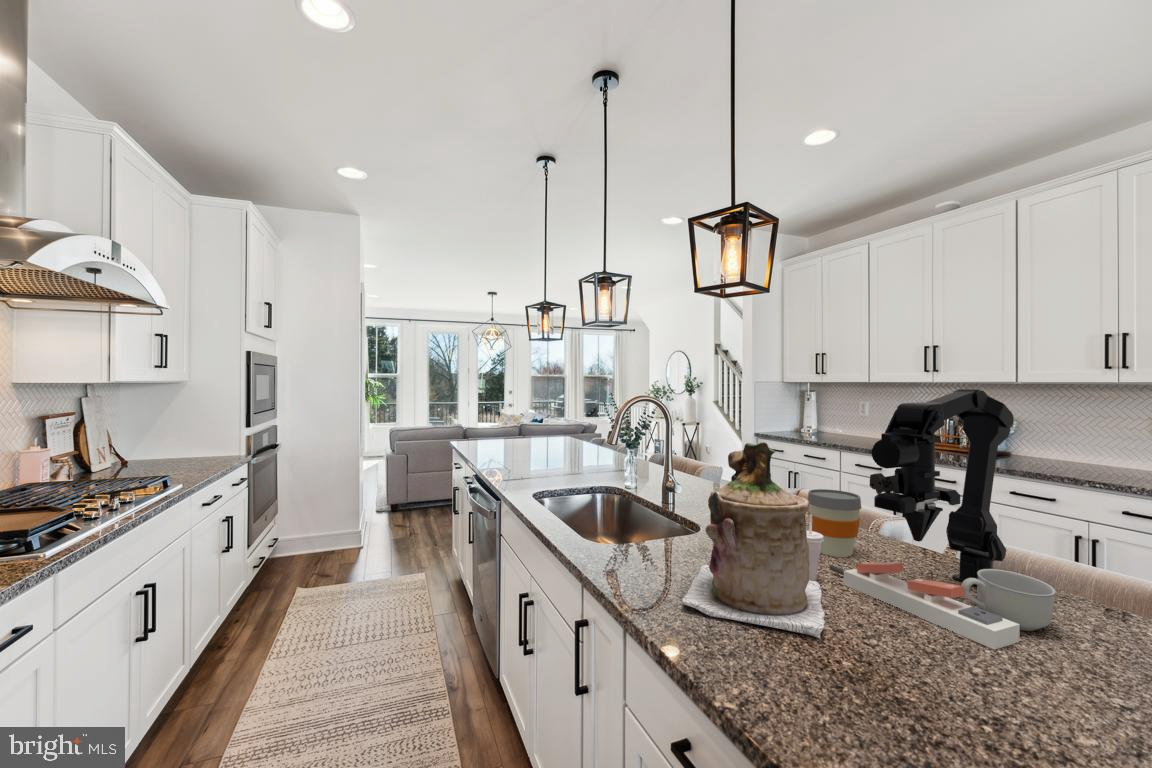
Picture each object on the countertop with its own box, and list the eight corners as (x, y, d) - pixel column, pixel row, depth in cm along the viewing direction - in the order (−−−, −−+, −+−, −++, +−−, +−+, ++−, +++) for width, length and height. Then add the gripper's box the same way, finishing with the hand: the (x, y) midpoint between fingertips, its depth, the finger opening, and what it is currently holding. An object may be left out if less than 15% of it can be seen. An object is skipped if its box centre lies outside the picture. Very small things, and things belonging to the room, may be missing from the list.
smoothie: (826, 584, 107) (827, 519, 107) (795, 581, 108) (796, 517, 108) (818, 573, 113) (819, 512, 113) (788, 570, 114) (789, 510, 114)
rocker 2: (920, 586, 97) (918, 577, 97) (964, 595, 89) (963, 585, 90) (907, 589, 95) (906, 580, 95) (952, 598, 88) (950, 588, 88)
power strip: (842, 570, 114) (842, 553, 115) (1019, 642, 83) (1019, 618, 83) (820, 574, 112) (820, 557, 112) (994, 649, 80) (994, 625, 80)
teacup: (1034, 615, 93) (1035, 573, 93) (1070, 643, 83) (1070, 595, 83) (947, 603, 98) (947, 563, 98) (970, 628, 88) (971, 583, 88)
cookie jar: (821, 589, 104) (824, 438, 104) (826, 644, 81) (829, 451, 82) (702, 569, 114) (705, 431, 114) (678, 612, 92) (681, 441, 92)
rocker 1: (869, 570, 107) (867, 561, 107) (904, 571, 99) (901, 562, 100) (857, 572, 105) (855, 563, 106) (892, 573, 98) (889, 564, 99)
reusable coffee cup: (800, 542, 136) (801, 488, 136) (848, 545, 134) (849, 490, 134) (815, 558, 123) (816, 498, 123) (869, 561, 121) (870, 500, 121)
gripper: (907, 456, 112) (907, 525, 112) (850, 462, 104) (850, 535, 104) (961, 463, 101) (962, 539, 102) (903, 470, 94) (903, 552, 94)
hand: (917, 540), depth 101 cm, fingers closed
